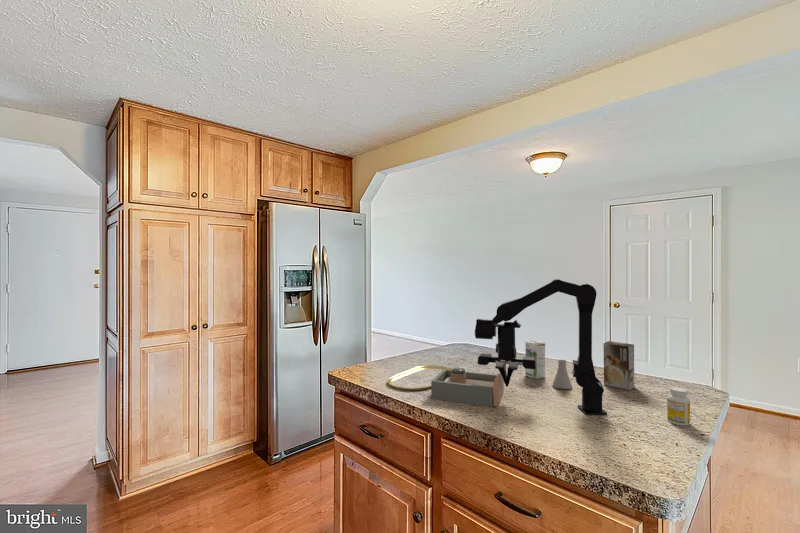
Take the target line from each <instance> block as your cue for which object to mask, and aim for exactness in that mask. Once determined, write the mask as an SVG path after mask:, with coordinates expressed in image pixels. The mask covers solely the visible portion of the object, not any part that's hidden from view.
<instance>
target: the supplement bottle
mask: <svg viewBox="0 0 800 533" xmlns="http://www.w3.org/2000/svg"><path fill="white" fill-rule="evenodd" d="M669 389H670V390H669V392H670V394H668V395H667V397H666V398H667V400H666V401H667V405H666V407H667V410H666V412H667V413H666V414H667V416H666V418H667V421H668V422H669V423H670V424H673V425H677V426H682V427H683V426H684V427H685V426H689V425H690V423H691V400H690V398H689V397H688V390H687V389H685V388H683V387H676V386H675V387H674V386H672V387H670V388H669Z"/></svg>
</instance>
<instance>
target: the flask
mask: <svg viewBox="0 0 800 533" xmlns="http://www.w3.org/2000/svg"><path fill="white" fill-rule="evenodd" d="M557 362H558V365H557V366H558V367H557V370H556V371H557V372H556V373H555V377H554V379H553V382H552V384H551V386H552V387H553V388H556V389H557V390H558V389H561V390H571V389H573V384H572V382H571V379H570V377H569V376H570V375H569V373H568V370H567V365H566V364H567V362H568V360H566V359H557Z"/></svg>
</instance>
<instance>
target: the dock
mask: <svg viewBox="0 0 800 533" xmlns="http://www.w3.org/2000/svg"><path fill="white" fill-rule="evenodd" d="M465 372H466V379H472V380H481V381H490V382H494V380H495V378H496V376H497V373H496V374H495V373H484V372H477V371H476V372H474V371H466V370H465ZM448 377H451V370H447V369H444V370H441V371H440V372H439V373H438V374H437V375H436V376H435V377H434V378H433V379H432V380H431V384H430V386H431V388H430V390H431V392H430V393H431V394H430V395H431V399H432V400H439V401H447V402H448V401H449V402H454V403H455V402H456V403H462V404H468V405H477V406H483V407H484V406H485V407H489V408H490V407H491V408H493V407H494V403H493V387H487V386H479V385H470V384H462V383H453V382H445V380H446V379H447V378H448Z"/></svg>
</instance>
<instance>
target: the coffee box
mask: <svg viewBox="0 0 800 533" xmlns="http://www.w3.org/2000/svg"><path fill="white" fill-rule="evenodd" d="M602 346H603V348H602V349H603V350H602V351H603V385H604V386H608V387H613V388H618V389H623V390H626V391H631V390H632V389H634V388H635V386H636V385H635V344H631V343H628V342H627V343H626V342H617V341H611V340H610V341H605V342H604V343H603V345H602Z"/></svg>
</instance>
